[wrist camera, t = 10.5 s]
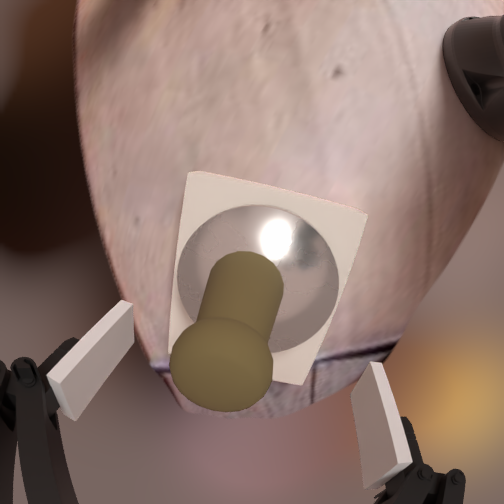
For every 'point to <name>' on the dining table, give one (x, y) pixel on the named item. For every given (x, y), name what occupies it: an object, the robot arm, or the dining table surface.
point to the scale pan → (277, 251)
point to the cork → (230, 335)
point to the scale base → (309, 207)
